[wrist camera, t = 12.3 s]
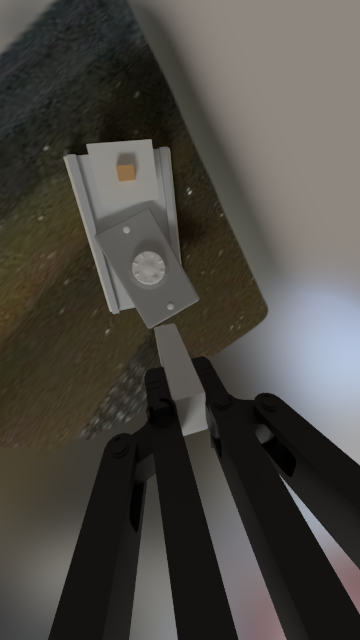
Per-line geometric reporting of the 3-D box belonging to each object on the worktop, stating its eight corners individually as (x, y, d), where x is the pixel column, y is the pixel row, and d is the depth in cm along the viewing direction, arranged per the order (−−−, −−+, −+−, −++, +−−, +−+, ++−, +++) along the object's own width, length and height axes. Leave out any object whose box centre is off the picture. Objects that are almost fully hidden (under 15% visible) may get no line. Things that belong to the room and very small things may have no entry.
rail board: (110, 308, 37) (107, 342, 28) (65, 158, 27) (38, 136, 18) (183, 294, 39) (201, 321, 30) (168, 149, 29) (189, 126, 20)
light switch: (149, 202, 28) (202, 299, 30) (149, 221, 34) (193, 300, 36) (90, 232, 27) (148, 330, 29) (101, 246, 33) (148, 326, 35)
